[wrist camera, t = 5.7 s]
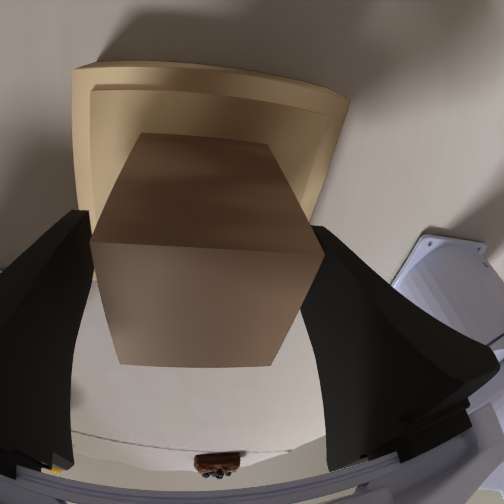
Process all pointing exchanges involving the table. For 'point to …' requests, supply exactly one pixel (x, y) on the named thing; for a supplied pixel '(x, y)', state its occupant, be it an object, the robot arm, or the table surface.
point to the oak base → (198, 120)
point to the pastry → (217, 464)
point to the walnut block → (202, 254)
